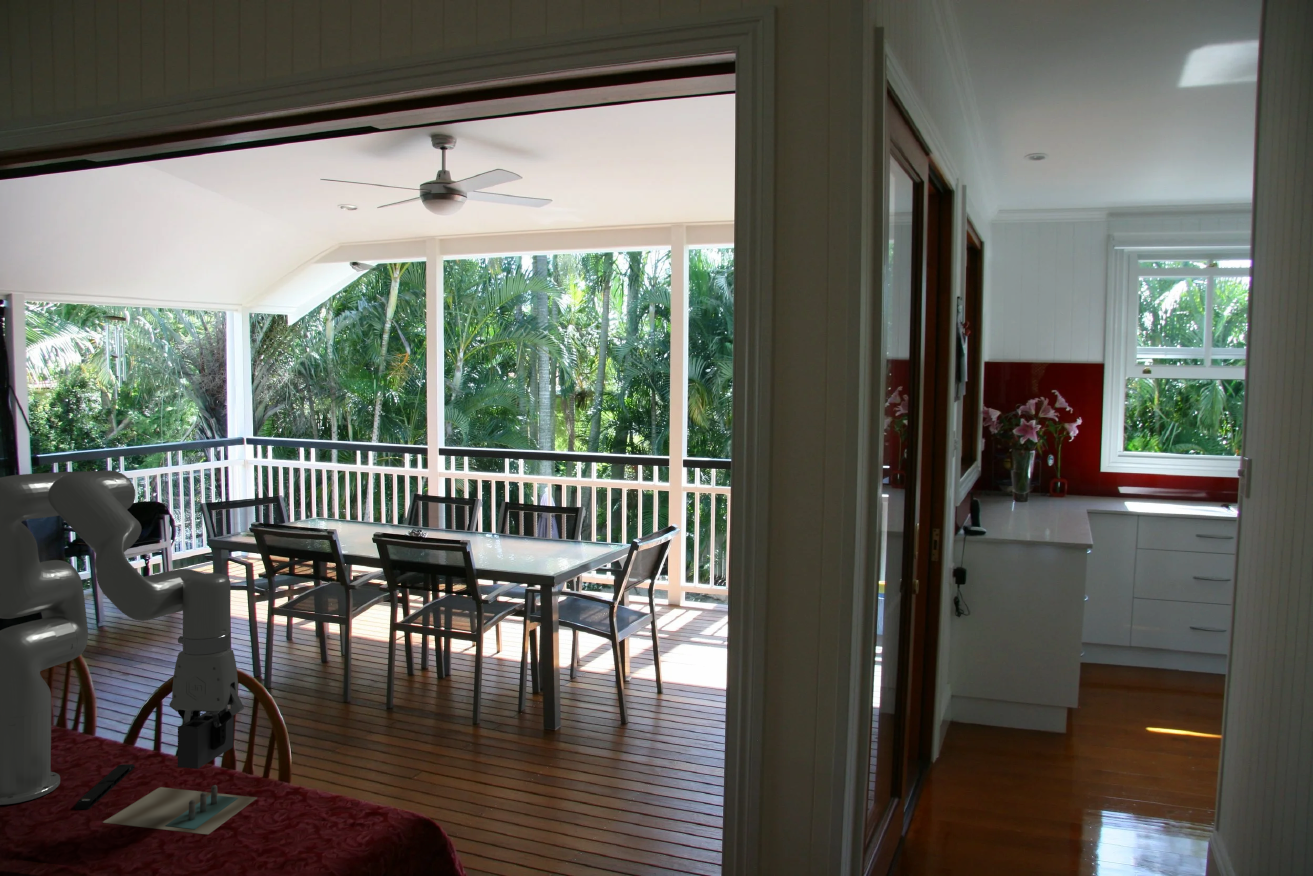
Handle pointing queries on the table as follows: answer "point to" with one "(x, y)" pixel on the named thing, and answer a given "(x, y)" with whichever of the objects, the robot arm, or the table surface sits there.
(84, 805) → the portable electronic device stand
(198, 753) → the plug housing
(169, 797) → the pin board
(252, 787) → the table surface
